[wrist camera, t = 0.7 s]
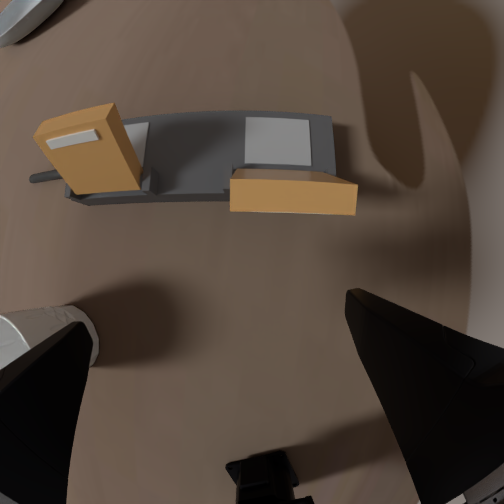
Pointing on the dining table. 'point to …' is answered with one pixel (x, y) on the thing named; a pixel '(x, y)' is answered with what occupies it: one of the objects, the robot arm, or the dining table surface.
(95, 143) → the tan flat block
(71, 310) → the white cup
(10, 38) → the serving bowl
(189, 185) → the power strip
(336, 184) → the orange flat block
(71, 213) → the dining table surface
